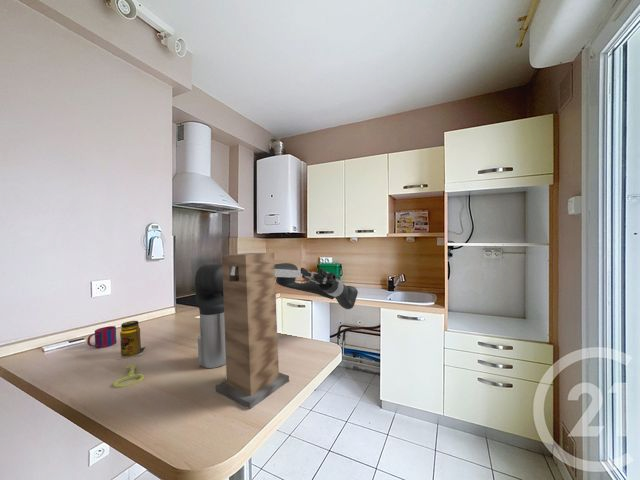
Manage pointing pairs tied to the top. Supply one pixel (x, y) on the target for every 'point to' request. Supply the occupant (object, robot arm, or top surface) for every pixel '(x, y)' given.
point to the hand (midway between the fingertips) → (310, 270)
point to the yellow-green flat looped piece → (129, 377)
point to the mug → (104, 337)
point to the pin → (278, 272)
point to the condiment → (130, 340)
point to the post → (250, 329)
